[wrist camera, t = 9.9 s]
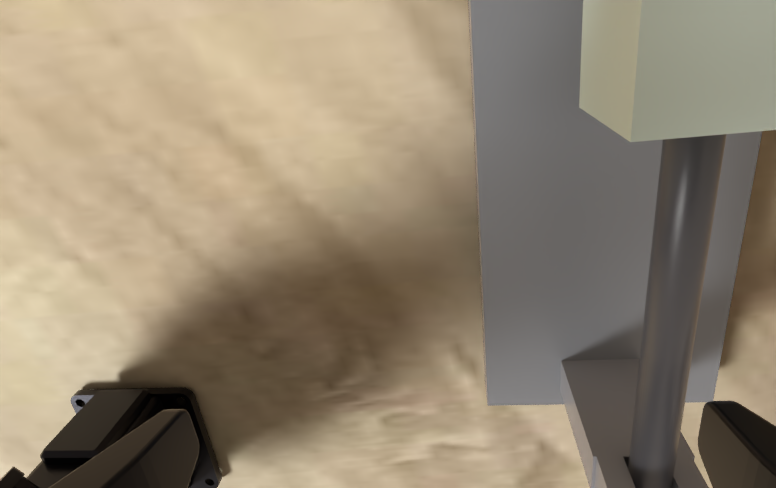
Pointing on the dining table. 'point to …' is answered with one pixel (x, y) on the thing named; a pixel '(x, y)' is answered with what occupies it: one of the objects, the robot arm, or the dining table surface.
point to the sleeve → (679, 67)
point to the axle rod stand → (598, 250)
